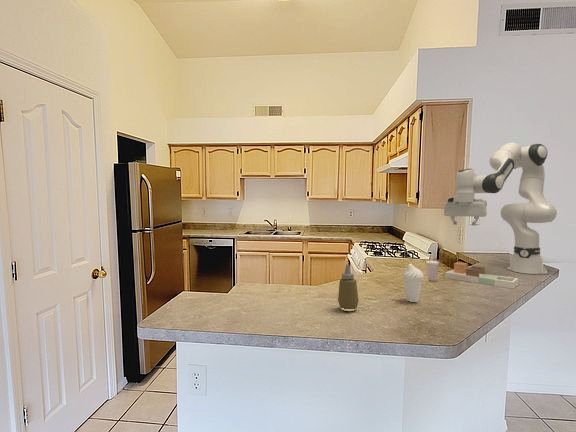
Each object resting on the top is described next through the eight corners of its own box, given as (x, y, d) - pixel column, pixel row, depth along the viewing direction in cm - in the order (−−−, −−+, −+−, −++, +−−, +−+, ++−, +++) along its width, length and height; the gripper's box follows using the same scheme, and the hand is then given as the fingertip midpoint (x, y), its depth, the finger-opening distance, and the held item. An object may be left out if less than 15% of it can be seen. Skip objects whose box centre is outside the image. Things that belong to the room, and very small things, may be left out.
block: (457, 271, 171) (457, 262, 171) (467, 272, 167) (467, 263, 167) (453, 272, 168) (453, 263, 168) (464, 274, 164) (464, 264, 164)
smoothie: (436, 278, 168) (436, 252, 167) (441, 281, 162) (441, 254, 161) (424, 278, 169) (423, 252, 168) (428, 281, 162) (428, 254, 162)
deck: (452, 274, 176) (452, 263, 175) (518, 284, 153) (518, 271, 153) (445, 277, 169) (445, 266, 169) (513, 288, 146) (513, 275, 146)
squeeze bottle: (359, 307, 126) (359, 263, 125) (357, 314, 118) (356, 267, 118) (339, 305, 129) (339, 262, 128) (336, 312, 121) (335, 266, 120)
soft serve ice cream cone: (423, 299, 134) (423, 262, 133) (423, 305, 126) (422, 266, 126) (403, 297, 137) (402, 261, 137) (401, 303, 130) (400, 265, 129)
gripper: (488, 198, 161) (488, 225, 162) (447, 199, 176) (446, 224, 177) (485, 198, 157) (484, 226, 157) (442, 199, 172) (442, 224, 173)
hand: (464, 224), depth 167 cm, fingers open, 8 cm apart
